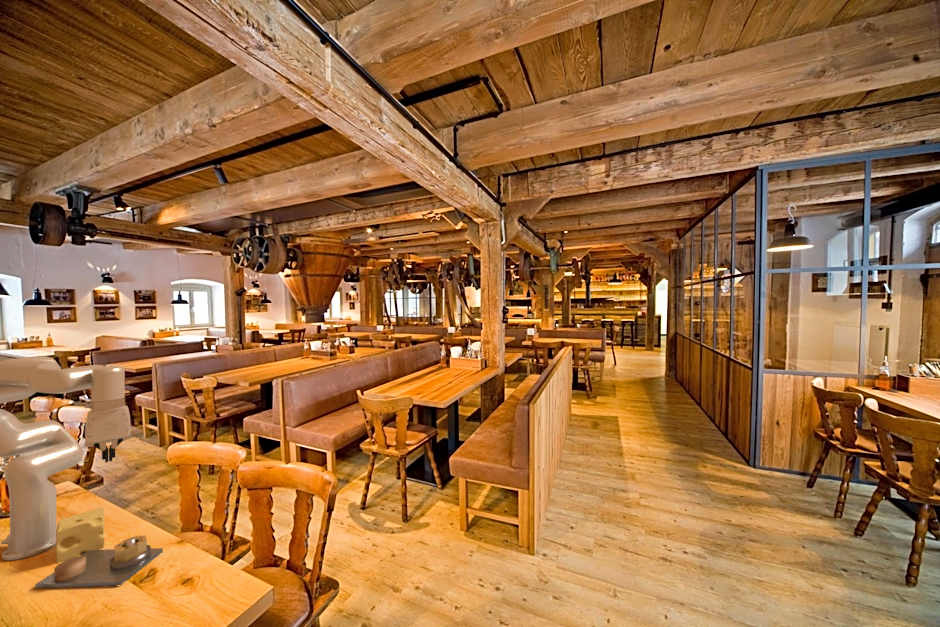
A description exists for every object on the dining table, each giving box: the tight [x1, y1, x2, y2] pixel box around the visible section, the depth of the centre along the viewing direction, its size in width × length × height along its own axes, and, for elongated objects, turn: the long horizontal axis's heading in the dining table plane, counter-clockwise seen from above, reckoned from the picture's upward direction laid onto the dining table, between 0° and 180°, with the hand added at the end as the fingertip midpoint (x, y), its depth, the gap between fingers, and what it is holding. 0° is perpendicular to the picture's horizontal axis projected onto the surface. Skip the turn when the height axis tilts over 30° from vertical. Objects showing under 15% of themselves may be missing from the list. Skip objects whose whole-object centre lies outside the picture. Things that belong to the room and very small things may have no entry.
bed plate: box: [34, 547, 163, 590], centre depth 104 cm, size 23×14×1 cm, turn 92°
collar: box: [113, 535, 148, 563], centre depth 106 cm, size 7×7×4 cm
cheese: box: [55, 506, 106, 564], centre depth 113 cm, size 10×11×10 cm
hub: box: [110, 537, 152, 570], centre depth 106 cm, size 9×9×7 cm
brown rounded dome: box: [54, 555, 86, 582], centre depth 100 cm, size 6×6×4 cm
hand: (108, 460), depth 112 cm, fingers closed
